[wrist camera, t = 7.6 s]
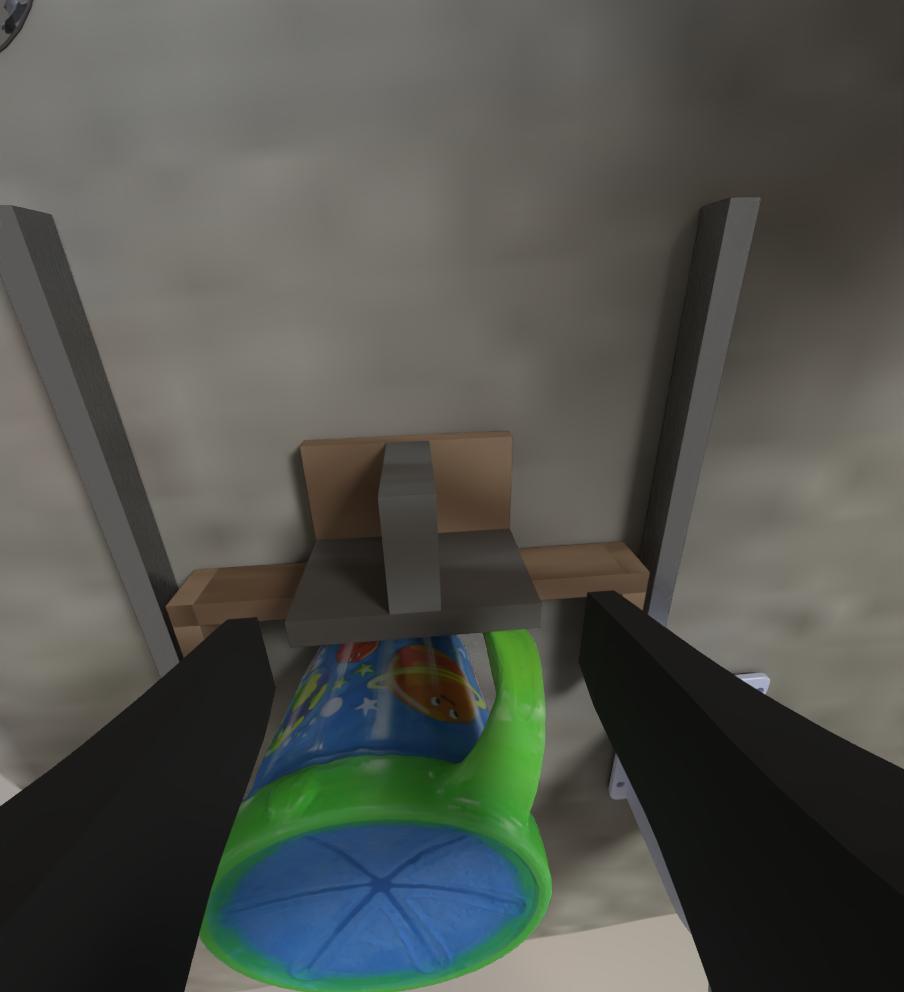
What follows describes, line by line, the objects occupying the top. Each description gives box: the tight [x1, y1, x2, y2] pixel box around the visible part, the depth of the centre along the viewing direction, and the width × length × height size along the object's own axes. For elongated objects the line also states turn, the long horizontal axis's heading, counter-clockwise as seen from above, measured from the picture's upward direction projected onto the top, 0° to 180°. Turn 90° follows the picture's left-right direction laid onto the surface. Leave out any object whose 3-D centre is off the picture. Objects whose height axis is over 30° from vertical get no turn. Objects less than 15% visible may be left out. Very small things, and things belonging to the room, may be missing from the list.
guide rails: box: [0, 197, 761, 678], centre depth 17 cm, size 18×23×2 cm
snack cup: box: [199, 629, 552, 992], centre depth 18 cm, size 16×10×10 cm
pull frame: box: [166, 431, 650, 657], centre depth 17 cm, size 13×19×6 cm
